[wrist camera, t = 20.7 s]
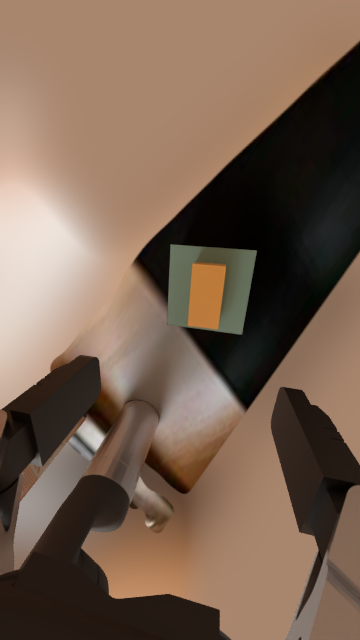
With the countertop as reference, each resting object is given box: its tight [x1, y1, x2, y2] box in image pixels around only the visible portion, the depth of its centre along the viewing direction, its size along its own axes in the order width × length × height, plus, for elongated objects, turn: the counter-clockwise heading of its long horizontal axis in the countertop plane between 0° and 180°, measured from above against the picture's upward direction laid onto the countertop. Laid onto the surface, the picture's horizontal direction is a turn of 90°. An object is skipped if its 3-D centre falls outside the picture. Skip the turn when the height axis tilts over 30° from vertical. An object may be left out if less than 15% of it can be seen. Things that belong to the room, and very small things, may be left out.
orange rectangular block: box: [188, 262, 226, 330], centre depth 28 cm, size 8×4×3 cm, turn 177°
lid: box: [167, 245, 257, 335], centre depth 29 cm, size 11×11×1 cm
